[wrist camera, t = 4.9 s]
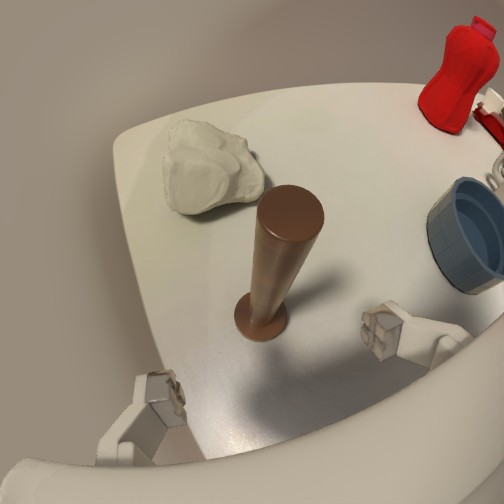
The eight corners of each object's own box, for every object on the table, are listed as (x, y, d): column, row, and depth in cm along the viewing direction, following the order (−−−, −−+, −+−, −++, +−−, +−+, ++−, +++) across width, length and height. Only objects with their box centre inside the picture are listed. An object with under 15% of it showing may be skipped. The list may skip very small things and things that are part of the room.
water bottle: (468, 141, 37) (523, 52, 14) (429, 129, 36) (485, 20, 13) (448, 111, 40) (492, 27, 17) (410, 98, 40) (452, 0, 17)
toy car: (469, 114, 42) (478, 101, 37) (474, 111, 43) (482, 99, 39) (508, 157, 37) (519, 144, 33) (511, 152, 39) (521, 140, 34)
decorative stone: (280, 199, 27) (214, 162, 18) (212, 237, 31) (139, 221, 22) (250, 123, 30) (192, 79, 21) (194, 163, 34) (133, 135, 26)
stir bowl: (500, 285, 25) (529, 269, 19) (444, 306, 24) (479, 289, 19) (470, 202, 30) (492, 180, 25) (410, 203, 29) (434, 174, 24)
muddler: (288, 338, 23) (380, 272, 7) (237, 345, 22) (221, 294, 7) (280, 290, 25) (339, 154, 9) (232, 296, 24) (211, 160, 8)
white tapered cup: (499, 121, 44) (509, 106, 38) (488, 117, 44) (499, 100, 37) (486, 105, 47) (495, 90, 41) (475, 100, 46) (484, 84, 40)
